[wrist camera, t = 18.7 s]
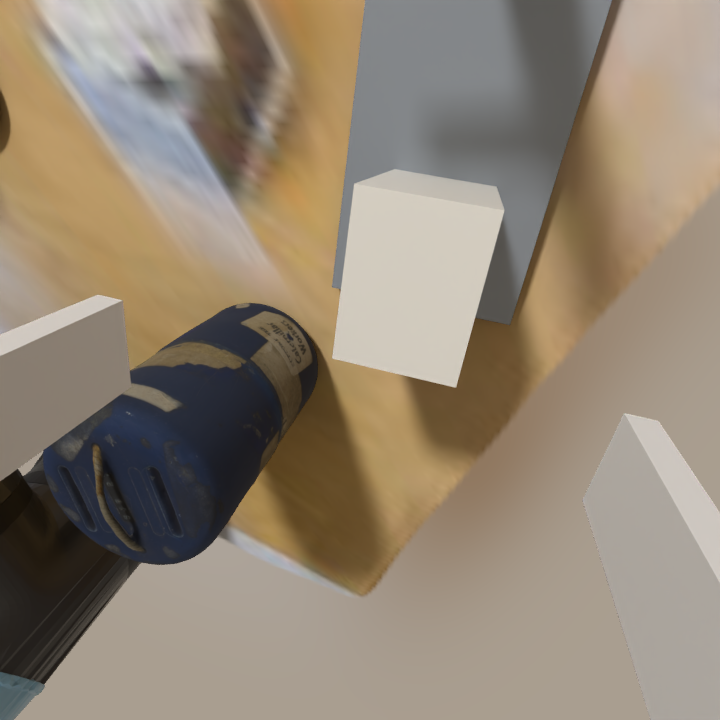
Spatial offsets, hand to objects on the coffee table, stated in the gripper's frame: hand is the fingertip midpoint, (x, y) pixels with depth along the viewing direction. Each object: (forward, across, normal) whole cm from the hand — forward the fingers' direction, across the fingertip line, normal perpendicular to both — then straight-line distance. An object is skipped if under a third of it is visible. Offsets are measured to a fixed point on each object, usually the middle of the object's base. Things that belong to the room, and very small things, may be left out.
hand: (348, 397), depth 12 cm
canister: (+21, -10, -11) cm, 25 cm away
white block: (+19, +1, 0) cm, 19 cm away
